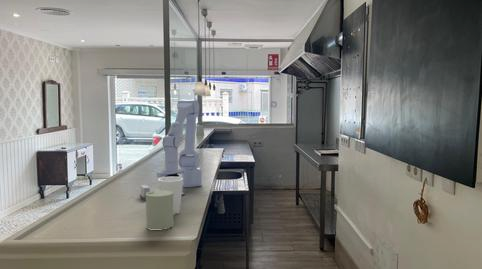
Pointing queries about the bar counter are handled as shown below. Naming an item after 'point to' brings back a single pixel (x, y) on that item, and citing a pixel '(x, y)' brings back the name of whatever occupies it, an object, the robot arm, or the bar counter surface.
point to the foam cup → (172, 189)
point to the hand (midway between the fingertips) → (172, 190)
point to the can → (159, 209)
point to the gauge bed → (146, 189)
